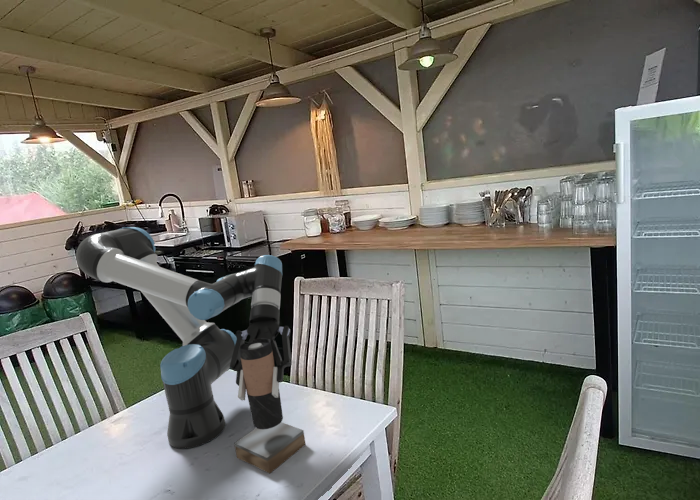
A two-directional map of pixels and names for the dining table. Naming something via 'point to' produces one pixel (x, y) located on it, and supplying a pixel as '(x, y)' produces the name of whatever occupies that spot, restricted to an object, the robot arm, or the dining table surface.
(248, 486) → the dining table surface
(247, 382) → the travel mug
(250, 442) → the walnut stand
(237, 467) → the dining table surface
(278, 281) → the robot arm
